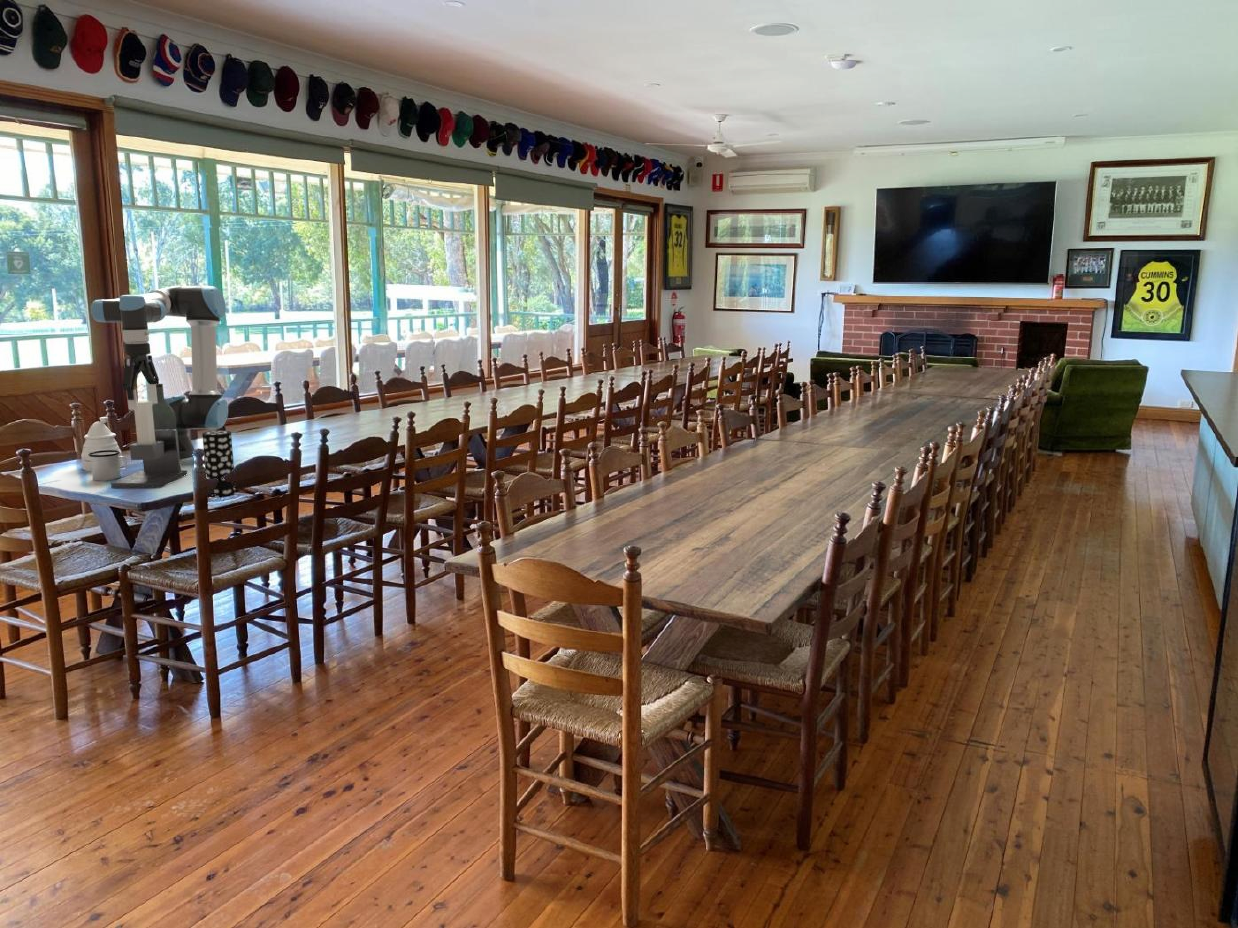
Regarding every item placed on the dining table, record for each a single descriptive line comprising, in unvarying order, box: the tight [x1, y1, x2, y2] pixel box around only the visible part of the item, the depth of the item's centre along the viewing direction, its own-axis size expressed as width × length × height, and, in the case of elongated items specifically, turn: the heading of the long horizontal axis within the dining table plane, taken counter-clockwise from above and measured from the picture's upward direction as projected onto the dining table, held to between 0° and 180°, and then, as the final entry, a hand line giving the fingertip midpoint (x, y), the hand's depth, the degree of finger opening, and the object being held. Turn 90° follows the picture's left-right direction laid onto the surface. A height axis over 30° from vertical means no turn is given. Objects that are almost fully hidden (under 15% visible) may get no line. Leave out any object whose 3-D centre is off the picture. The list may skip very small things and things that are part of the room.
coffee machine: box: [110, 430, 188, 489], centre depth 310 cm, size 20×16×16 cm
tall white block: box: [133, 400, 156, 445], centre depth 308 cm, size 4×4×18 cm
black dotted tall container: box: [201, 430, 237, 499], centre depth 290 cm, size 8×8×20 cm
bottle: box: [152, 383, 176, 430], centre depth 333 cm, size 9×9×30 cm
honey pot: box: [80, 416, 124, 472], centre depth 331 cm, size 13×13×18 cm
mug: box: [88, 450, 128, 482], centre depth 315 cm, size 12×10×9 cm
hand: (143, 406), depth 306 cm, fingers open, 13 cm apart
